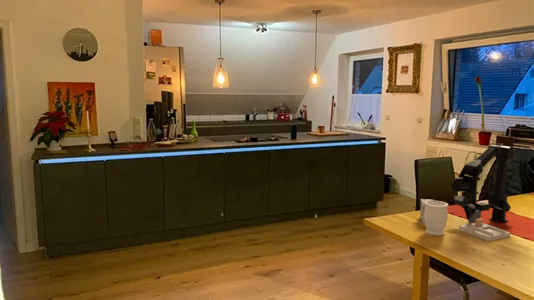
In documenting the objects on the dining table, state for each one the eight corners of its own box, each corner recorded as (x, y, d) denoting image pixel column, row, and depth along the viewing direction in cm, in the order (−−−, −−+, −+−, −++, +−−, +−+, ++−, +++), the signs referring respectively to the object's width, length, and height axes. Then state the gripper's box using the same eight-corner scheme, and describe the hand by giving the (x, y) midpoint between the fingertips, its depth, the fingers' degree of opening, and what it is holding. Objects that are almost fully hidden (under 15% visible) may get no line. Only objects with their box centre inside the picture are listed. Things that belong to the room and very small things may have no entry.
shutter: (477, 223, 206) (478, 216, 205) (489, 227, 200) (489, 220, 200) (468, 225, 204) (468, 218, 203) (479, 229, 198) (480, 222, 197)
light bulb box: (436, 224, 212) (437, 204, 211) (422, 224, 214) (423, 204, 212) (432, 218, 223) (433, 199, 221) (419, 217, 224) (420, 198, 222)
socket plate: (479, 225, 210) (479, 219, 209) (509, 236, 194) (510, 230, 194) (458, 229, 205) (459, 223, 204) (488, 241, 189) (489, 234, 189)
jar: (445, 230, 204) (447, 201, 201) (447, 237, 194) (449, 207, 192) (422, 228, 207) (424, 199, 205) (423, 235, 197) (424, 205, 195)
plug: (473, 221, 217) (474, 208, 216) (480, 223, 214) (481, 210, 213) (468, 222, 216) (469, 209, 215) (474, 224, 212) (475, 211, 211)
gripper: (443, 187, 210) (442, 216, 213) (474, 195, 193) (472, 227, 195) (459, 184, 214) (458, 213, 217) (491, 193, 197) (489, 224, 200)
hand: (468, 219), depth 207 cm, fingers closed
